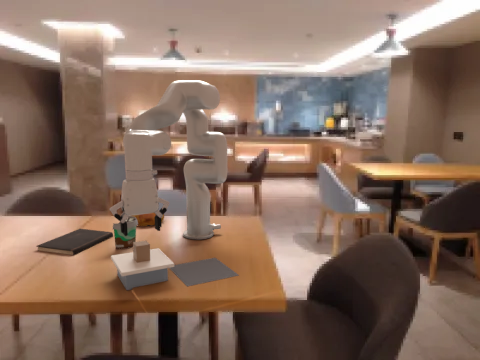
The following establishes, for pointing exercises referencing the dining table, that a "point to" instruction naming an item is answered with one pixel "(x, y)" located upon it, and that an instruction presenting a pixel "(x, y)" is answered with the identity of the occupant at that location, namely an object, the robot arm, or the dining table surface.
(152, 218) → the croissant
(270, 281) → the dining table surface
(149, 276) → the dish
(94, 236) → the hardcover book
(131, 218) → the food container
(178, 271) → the mat
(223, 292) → the dining table surface
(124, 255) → the lid
